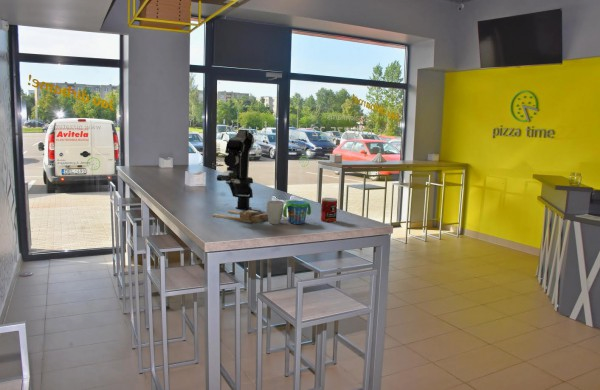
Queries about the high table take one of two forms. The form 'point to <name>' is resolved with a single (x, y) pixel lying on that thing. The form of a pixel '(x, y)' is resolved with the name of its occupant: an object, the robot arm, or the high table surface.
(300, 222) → the snack cup
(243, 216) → the crate
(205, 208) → the high table surface
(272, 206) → the cup
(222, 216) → the light brown long piece
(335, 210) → the canned food
